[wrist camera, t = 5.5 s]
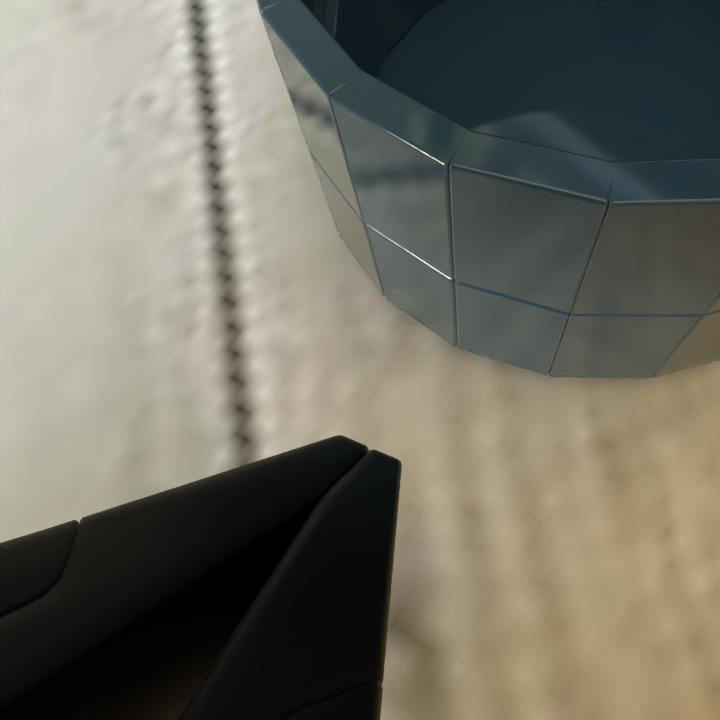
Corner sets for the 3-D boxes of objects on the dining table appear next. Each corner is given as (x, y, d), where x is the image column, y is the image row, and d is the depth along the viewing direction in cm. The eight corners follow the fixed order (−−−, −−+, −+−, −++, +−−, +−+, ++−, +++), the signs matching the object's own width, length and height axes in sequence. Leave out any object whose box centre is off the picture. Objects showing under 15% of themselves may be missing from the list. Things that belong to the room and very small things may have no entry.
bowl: (527, 503, 15) (583, 411, 8) (245, 114, 20) (117, -163, 13) (1007, 181, 16) (1470, -181, 9) (618, -114, 21) (699, -497, 14)
